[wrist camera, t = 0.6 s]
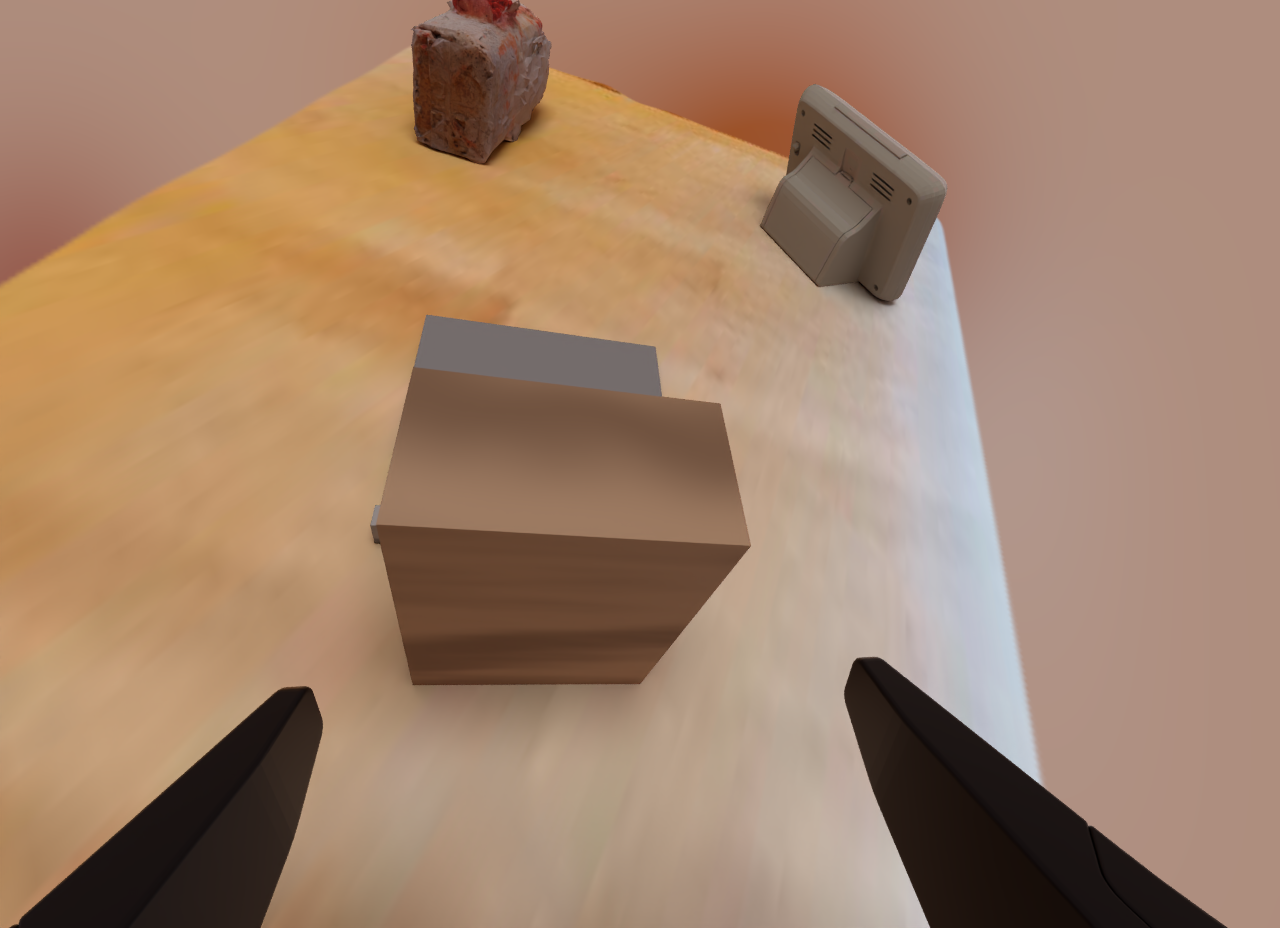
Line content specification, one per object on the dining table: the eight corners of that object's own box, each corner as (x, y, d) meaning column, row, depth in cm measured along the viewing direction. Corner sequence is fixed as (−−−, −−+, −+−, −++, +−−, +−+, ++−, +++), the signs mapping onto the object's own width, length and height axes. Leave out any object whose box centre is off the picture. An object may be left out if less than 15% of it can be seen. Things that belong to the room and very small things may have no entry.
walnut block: (640, 684, 24) (750, 545, 15) (412, 684, 22) (376, 524, 13) (632, 575, 27) (720, 403, 18) (431, 566, 25) (413, 366, 16)
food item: (468, 86, 54) (468, -47, 46) (549, 114, 54) (563, -13, 47) (405, 142, 45) (393, -11, 38) (502, 175, 46) (510, 30, 38)
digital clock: (903, 312, 48) (993, 191, 40) (815, 310, 45) (893, 178, 37) (818, 206, 57) (878, 88, 48) (740, 198, 54) (790, 71, 45)
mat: (680, 557, 28) (689, 543, 27) (374, 542, 25) (370, 525, 24) (653, 351, 37) (659, 333, 36) (426, 320, 34) (425, 299, 33)
